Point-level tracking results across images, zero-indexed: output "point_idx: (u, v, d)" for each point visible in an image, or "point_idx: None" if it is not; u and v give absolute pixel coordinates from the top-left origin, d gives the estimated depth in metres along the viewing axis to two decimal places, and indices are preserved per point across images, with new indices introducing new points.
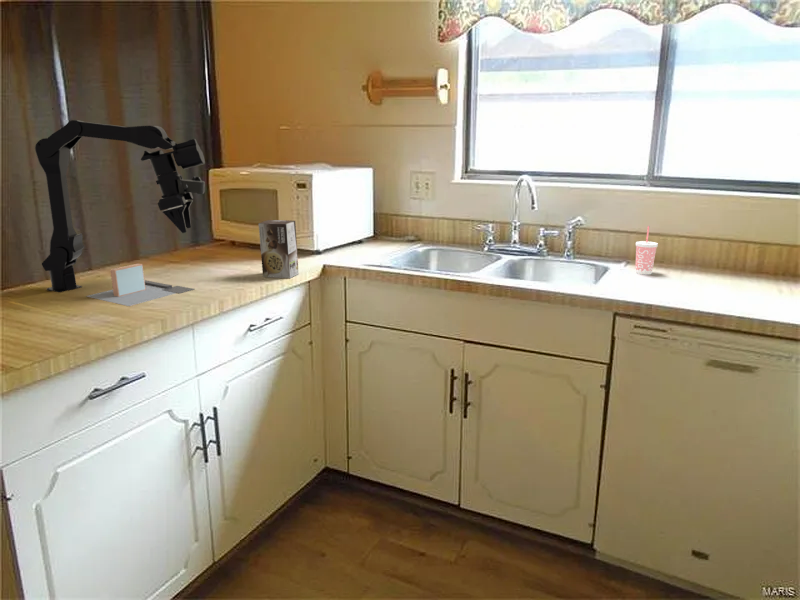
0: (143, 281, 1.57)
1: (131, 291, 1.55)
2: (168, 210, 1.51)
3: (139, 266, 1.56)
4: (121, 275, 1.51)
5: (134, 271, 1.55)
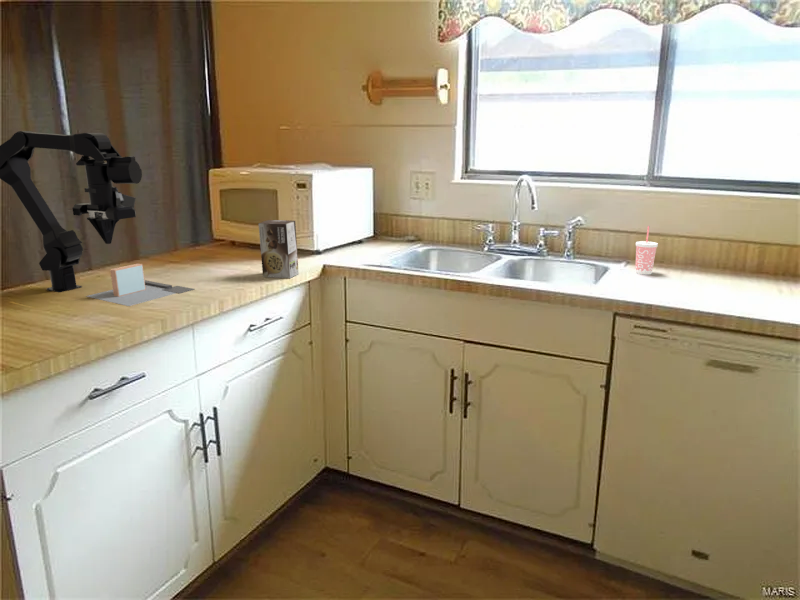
0: (143, 281, 1.57)
1: (131, 291, 1.55)
2: (108, 219, 1.51)
3: (139, 266, 1.56)
4: (121, 275, 1.51)
5: (134, 271, 1.55)
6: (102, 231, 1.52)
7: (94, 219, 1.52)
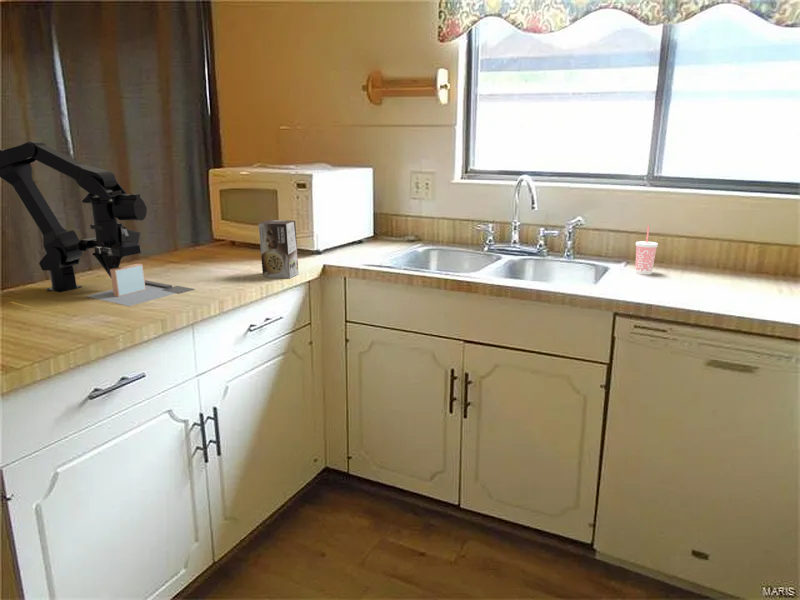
0: (143, 281, 1.57)
1: (131, 291, 1.55)
2: (114, 255, 1.53)
3: (139, 266, 1.56)
4: (121, 275, 1.51)
5: (134, 271, 1.55)
6: (108, 266, 1.55)
7: (100, 255, 1.54)
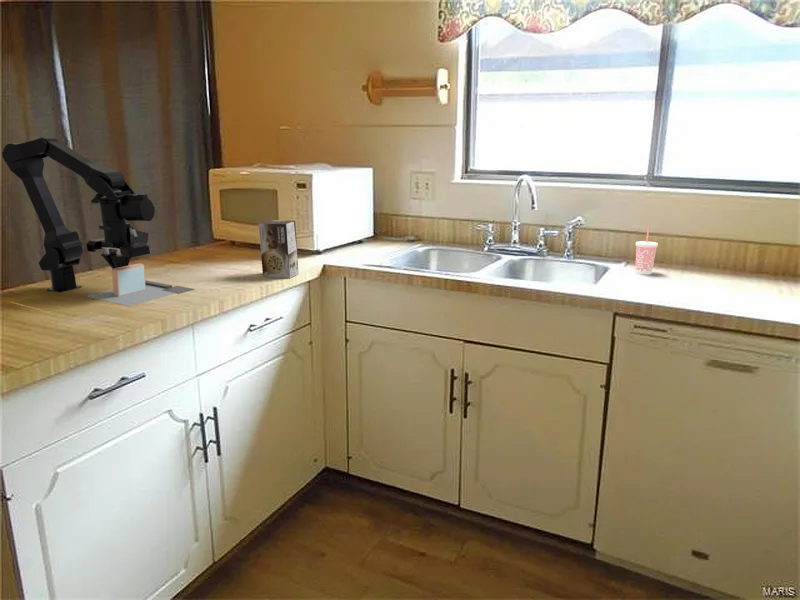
0: (144, 281, 1.57)
1: (131, 291, 1.55)
2: (122, 256, 1.51)
3: (141, 266, 1.55)
4: (122, 275, 1.51)
5: (135, 271, 1.54)
6: (116, 267, 1.53)
7: (108, 256, 1.52)
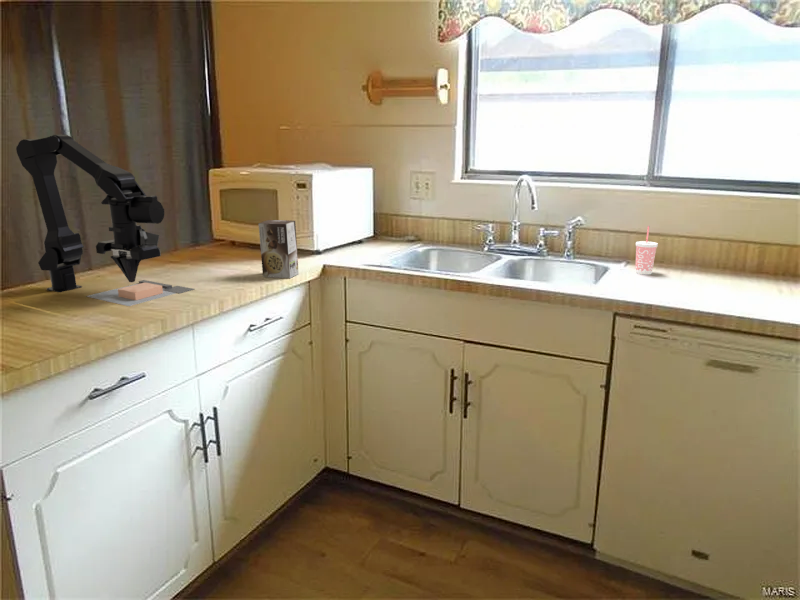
0: None
1: None
2: (132, 258, 1.49)
3: (158, 293, 1.54)
4: None
5: None
6: (126, 270, 1.51)
7: (118, 258, 1.50)
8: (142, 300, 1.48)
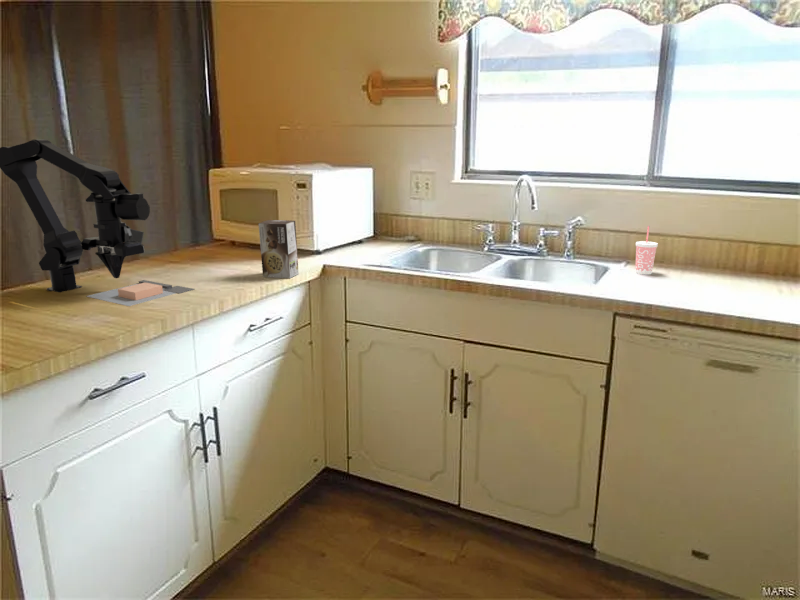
0: None
1: None
2: (117, 255, 1.52)
3: (158, 293, 1.54)
4: None
5: None
6: (111, 266, 1.54)
7: (103, 254, 1.53)
8: (142, 300, 1.48)
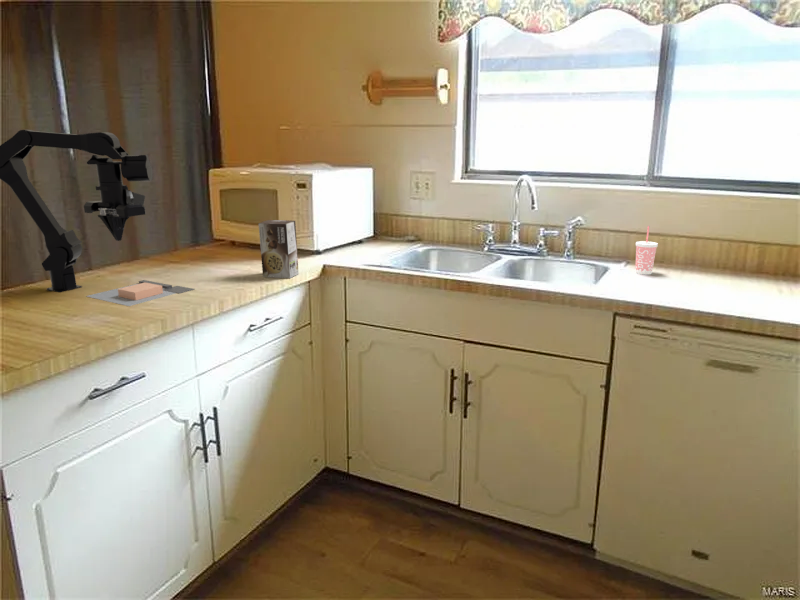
0: None
1: None
2: (119, 216, 1.55)
3: (158, 293, 1.54)
4: None
5: None
6: (113, 228, 1.56)
7: (105, 216, 1.56)
8: (142, 300, 1.48)
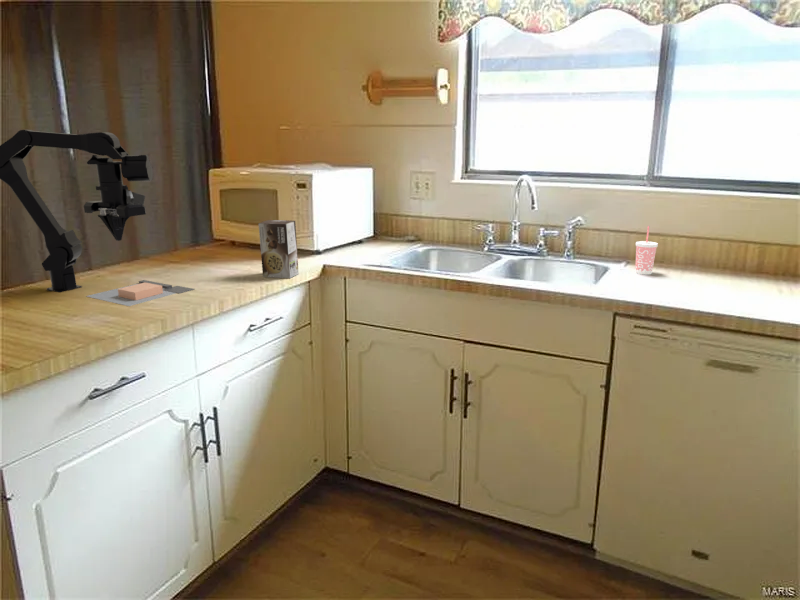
0: None
1: None
2: (119, 216, 1.55)
3: (158, 293, 1.54)
4: None
5: None
6: (113, 228, 1.56)
7: (105, 216, 1.56)
8: (142, 300, 1.48)
